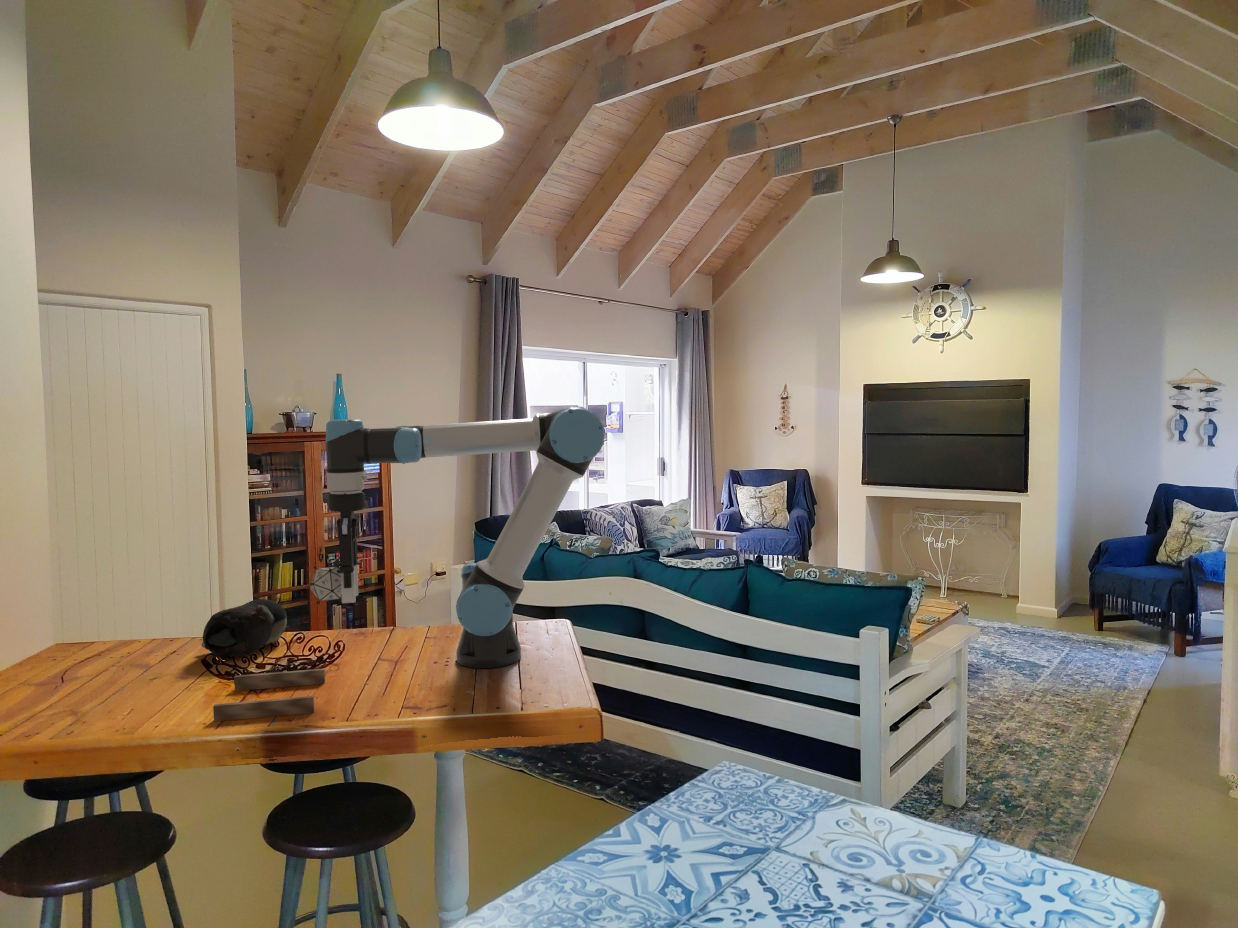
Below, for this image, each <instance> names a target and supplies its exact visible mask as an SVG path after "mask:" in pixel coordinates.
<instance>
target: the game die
mask: <svg viewBox="0 0 1238 928" xmlns="http://www.w3.org/2000/svg"><path fill="white" fill-rule="evenodd" d="M339 568H340V562H339V563H337V564H336V566H329V567H319V568H317V566H316V565H313V569H314V573H313V576H312V579H311V581H310V583H309V586H306V587H305V590H309V589H310V591H311V592H312V594H313V595H314V596H315V598H316V599H317V602H316V604H317V605H316V606H318V605H320V602H327V601H334V600H339V601H340V602H342V592H341V573H337V570H339Z"/></svg>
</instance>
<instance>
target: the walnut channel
mask: <svg viewBox="0 0 1238 928" xmlns="http://www.w3.org/2000/svg"><path fill="white" fill-rule="evenodd" d="M325 670H326V669H325V668H314V669H313V668H312V669H303V670H292V671H291V670H289V671H277V672H275V671H274V672H264V673H253V674H252V673H251V674H241V675H234V676H233V679H234V681H233V682H234V692H240V691H250V690H252V691H253V690H261V689H262V690H263V689H264V690H265V689H275V688H286V687H288V688H289V687H298V686H299V687H300V686H310V685H312V686H313V685H321V684H323V685H324V684H325V683H326V673H325V672H326V671H325ZM212 708H213V709H212V710H213V722H214V723H215V722H224V721H235V720H247V719H257V718H269V717H278V716H289V715H299V714H310V713H315V696H314V695H307V696H295V697H285V698H284V697H283V698H274V699H273V698H272V699H263V700H251V701H237V702H228V703H217V704H216V703H215V704H214V705H213V706H212Z"/></svg>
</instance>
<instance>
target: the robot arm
mask: <svg viewBox="0 0 1238 928" xmlns="http://www.w3.org/2000/svg"><path fill="white" fill-rule="evenodd" d="M604 442H605V429H604V425H603V423H602V421H601V419H600V417H598V416H597V414H596V413H595V412H593V411H591V410H590V409H588V408H585V407H583V406H570V407H566V408H563V409H560V410H555V411H552V412H544V413H542V412H541V413H536V414H535V415H534V416H533V417H531V418H518V419H515V418H514V419H505V420H504V419H503V420H502V419H501V420H500V419H499V420H486V421H475V422H474V421H471V422H455V423H439V424H425V425H401V426H396V427H386V428H382V427H381V428H380V427H379V428H367V427H364V424H363V421H362V420H361V419H331V420H329V421H328V422H327V423H326V424H325V441H324V443H325V450H326V451H325V453H326V486H327V487H326V490H327V492H328V491H329V493H328V494H327V506H328V507H327V509H328V510H329V511H330V512H334V513H336V512H338V513H340V514H339V517H340V518H338V519H337V520H336V528H337V534H338V535H337V539H338V546H339V547H338V548H339V549H338V550H339V551H338V554H339V555H338V556H339V567H338V568H339V570H337V573H341V592H342V596H341V599H342V601H341V604H351V603H353V604H354V603H356V600H357V599H356V598H357V596H359V582H358V581H359V580H358V579H359V578H358V565H359V566H360V565H361V560H358V558H359V556H358V541H357V540H358V539H357V538H358V524H359V518H358V517H357V516H355V512H359V511H362V510H365V509H366V493H365V492H364V491H363V490H364V489H365V481H367V480H368V476H367V475H364V474H365V464H402V465H405V464H410V463H418V462H420V460H421V459H425V458H442V457H455V456H471V455H472V456H473V455H485V454H486V455H487V454H503V453H516V452H517V453H518V452H530V451H531V452H534V451H535V453H536V457H537V460H538V461H537V465H536V466H535V469H534V470H533V472H532V474H531V476H530V478H529V479H528V482H527V484H526V486H525V488H524V489H523V491H522V492H521V495H520V497H519V498H518V500H517V502H516V504H515V506H514V508H513V509H512V511H511V513H510V515H509V517H508V518H507V521H506V523H505V525H504V527H503V528H502V531H501V532H500V534H499V536H498V538H497V539H496V542H495V543H494V546H493V548H492V549H491V551H490V553H489V554H488V556H487V558H485V559H482V560H479V561H477V562H473V563H467V564H464V565H463V566H462V571H461V578H462V582H461V583H462V586H461V587H462V588H461V591H460V594H459V596H458V597H457V600H456V605H455V610H456V616H457V619H458V621H459V623H460V625H461V626H462V632H461V634H460V639H459V642H458V645H457V648H456V662H457V664H458V665H460V666H464V667H467V668H470V669H471V668H473V669H492V668H493V669H494V668H501V667H505V666H510V665H512V664H515V663H516V662H518V661H520V659H521V657H522V652H521V651H522V650H521V649H522V647H521V644H520V642H519V639H518V636H517V633H516V630H515V628H514V620H513V619H514V617H513V615H514V612H513V610H514V607H515V605H516V604H517V601H518V599H519V597H520V596H521V594H522V592H523V591H524V588H525V582H524V579H523V575H524V573H525V572H526V570H527V569H528V566H529V565H530V563H531V560H532V559H533V557H534V555H535V553H536V551H537V549H538V547H539V546H540V544H541V542H542V539H543V538H544V536H545V534H546V533H547V530H548V529H549V527H550V525H551V523H552V521H553V520H554V518H555V516H556V513H557V512H558V510H559V508H560V506H561V504H562V503H563V501H564V499H565V497H566V495H567V492H568V491H569V489H570V487H571V485H572V484H573V482H574V481H575V480H578V479H581V478H583V477H584V475H585V474H586V472H587V470H588V468H589V466H590V465H591V463H592V461H593V459H594V458H595V457H596V456H597V455H598V454H599V453H600V451H601V449H602V447H603V446H604Z"/></svg>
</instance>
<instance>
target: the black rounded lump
mask: <svg viewBox="0 0 1238 928" xmlns="http://www.w3.org/2000/svg"><path fill="white" fill-rule="evenodd" d="M287 618H288V615H287V611H286V610H285V608H284V607H283V606H282V605H281V604H280V603H278V602H275V601H274V600H271V599H266V598H257V599H253V600H249V601H248V602H245V603H244V604H241V605H239V606H238V605H237V606H235V607H231V608H227V609H222V610H220V611H217V612H215V613H214V614H212V615H211V616H210V618H209V619H208V621H207V622H206V624H205V626H204V630H203V633H202V642H201V643H200V644H201V648H203V649H205V650H208V651H209V652H211V653H212V654H213V655H214V659H215V658H216V657H220V658H221V659H222V660H227V661H228V659H229V658H233V657H248V656H250V655H252V654H254V653H255V652H256V651H259V650H260V649H261V648H262V647H263V646H267V645H269V644H271V643H272V644H273V643H277V642H278V641H279V640H280V638H281V636H282V635H283V634H284V633H285V631H286V627H287V624H288V623H287V621H288V620H287ZM232 656H233V657H232Z"/></svg>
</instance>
